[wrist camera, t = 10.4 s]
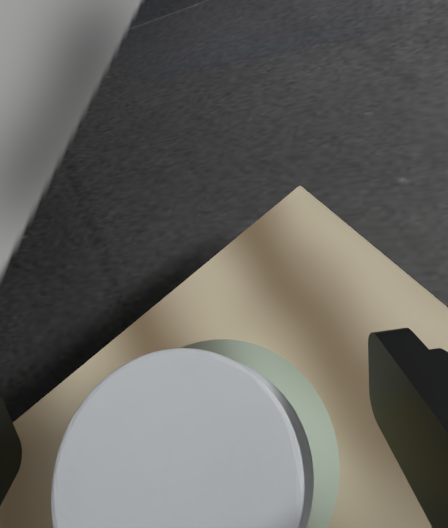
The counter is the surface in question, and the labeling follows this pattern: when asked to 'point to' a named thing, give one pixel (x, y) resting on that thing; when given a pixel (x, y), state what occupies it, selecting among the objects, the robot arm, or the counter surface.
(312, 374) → the shelf stand
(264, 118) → the counter surface
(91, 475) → the supplement bottle
